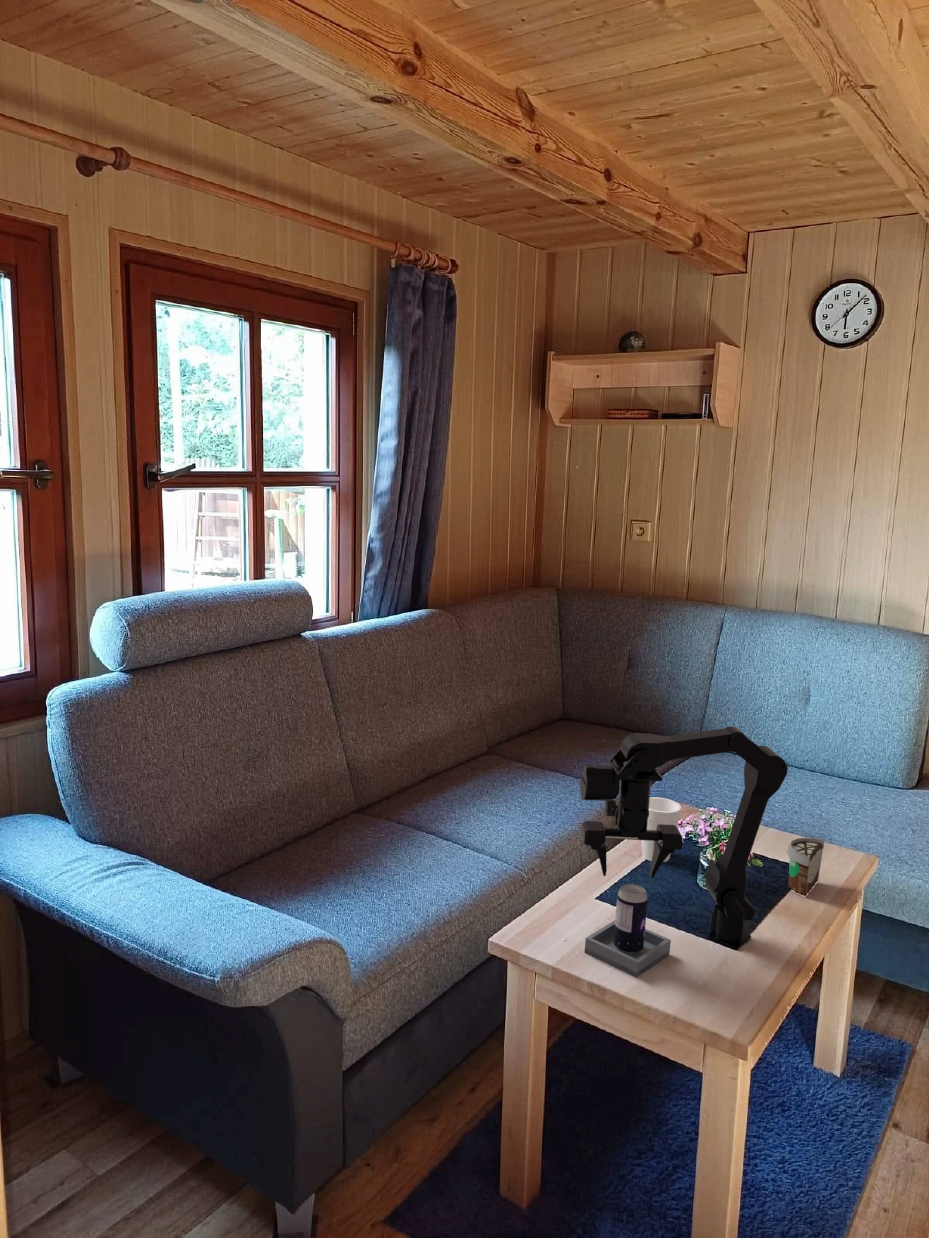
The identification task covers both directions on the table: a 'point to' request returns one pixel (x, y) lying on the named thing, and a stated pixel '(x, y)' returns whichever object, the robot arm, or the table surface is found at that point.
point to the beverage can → (630, 919)
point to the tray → (632, 964)
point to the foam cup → (660, 820)
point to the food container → (804, 863)
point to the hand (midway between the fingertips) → (627, 876)
